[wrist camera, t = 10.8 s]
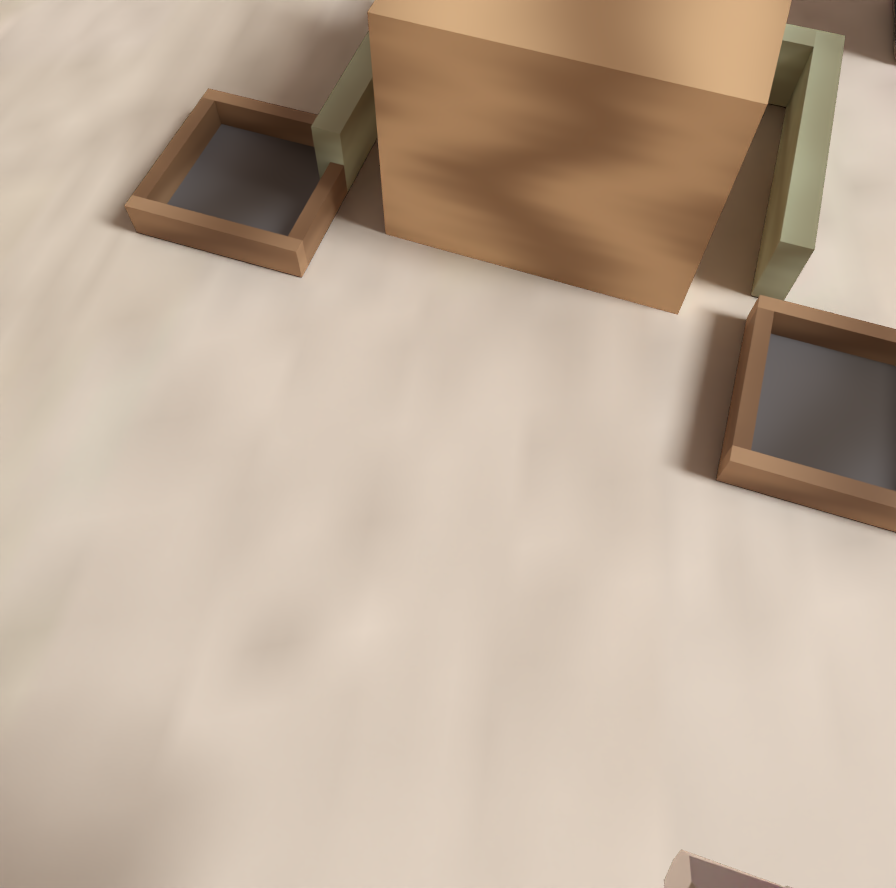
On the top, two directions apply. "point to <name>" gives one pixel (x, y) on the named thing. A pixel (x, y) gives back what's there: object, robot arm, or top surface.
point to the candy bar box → (895, 4)
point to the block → (570, 131)
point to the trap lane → (771, 319)
